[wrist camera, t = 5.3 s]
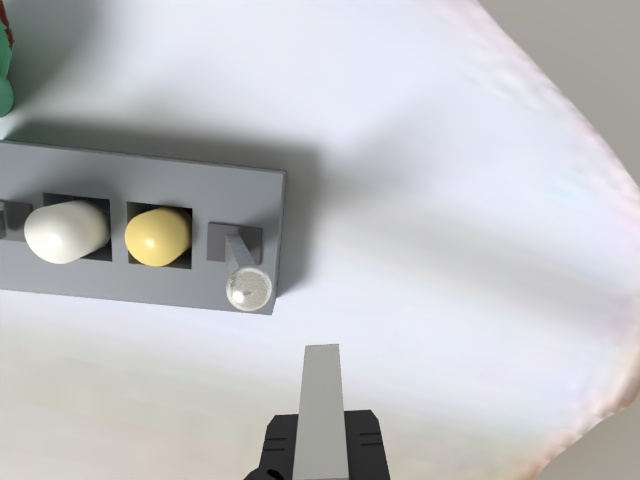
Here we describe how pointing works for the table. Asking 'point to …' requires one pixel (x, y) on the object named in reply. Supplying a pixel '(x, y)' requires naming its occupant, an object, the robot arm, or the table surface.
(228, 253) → the lever
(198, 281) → the panel
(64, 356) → the table surface
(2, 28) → the mug
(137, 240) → the button mustard
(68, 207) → the button ivory
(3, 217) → the lever
